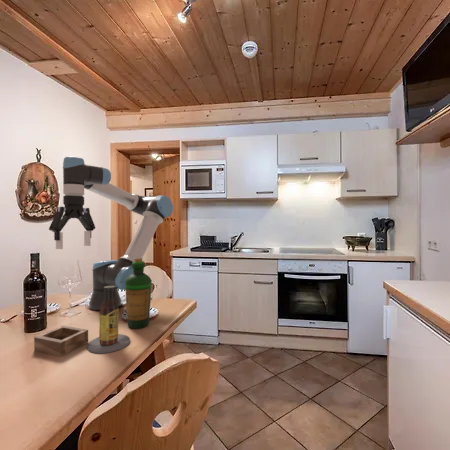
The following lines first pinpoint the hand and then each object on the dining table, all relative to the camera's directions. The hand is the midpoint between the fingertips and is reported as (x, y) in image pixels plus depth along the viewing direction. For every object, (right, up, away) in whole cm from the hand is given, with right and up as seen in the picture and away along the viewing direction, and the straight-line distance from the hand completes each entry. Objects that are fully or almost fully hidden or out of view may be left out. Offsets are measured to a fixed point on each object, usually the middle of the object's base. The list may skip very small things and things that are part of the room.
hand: (74, 247), depth 113 cm
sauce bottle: (+21, -33, -15) cm, 42 cm away
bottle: (+26, -33, +2) cm, 42 cm away
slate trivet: (+21, -33, -15) cm, 42 cm away
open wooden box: (+5, -33, -17) cm, 38 cm away
